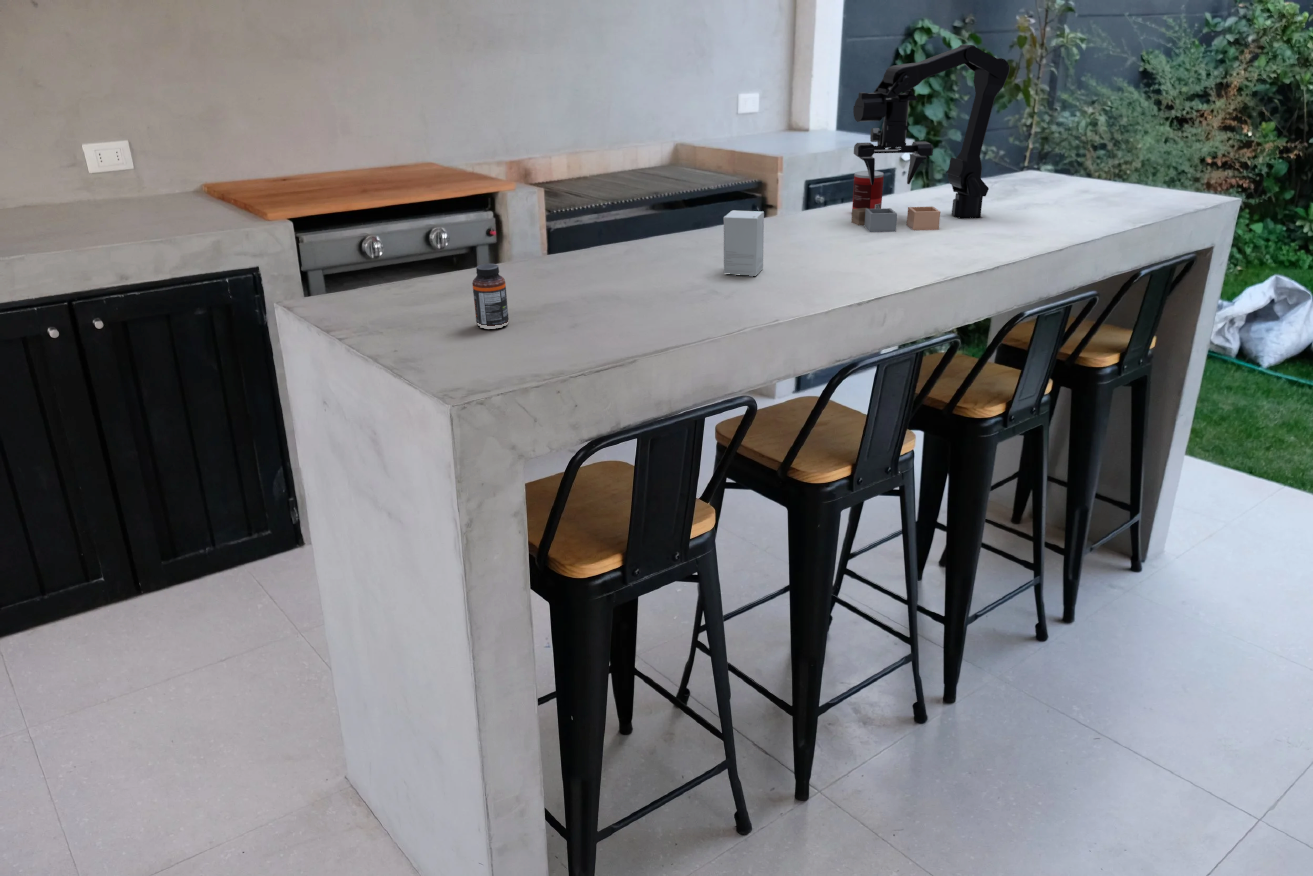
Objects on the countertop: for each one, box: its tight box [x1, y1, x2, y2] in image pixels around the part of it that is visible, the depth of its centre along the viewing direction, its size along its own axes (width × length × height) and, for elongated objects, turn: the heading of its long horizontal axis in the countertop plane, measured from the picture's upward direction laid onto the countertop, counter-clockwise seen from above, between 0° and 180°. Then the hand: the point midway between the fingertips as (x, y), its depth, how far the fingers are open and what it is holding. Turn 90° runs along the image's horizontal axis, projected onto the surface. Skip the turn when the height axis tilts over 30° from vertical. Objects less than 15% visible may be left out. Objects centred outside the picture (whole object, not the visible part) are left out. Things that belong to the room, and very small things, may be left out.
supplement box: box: [722, 209, 765, 277], centre depth 212 cm, size 7×7×13 cm
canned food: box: [851, 170, 885, 210], centre depth 264 cm, size 8×8×11 cm
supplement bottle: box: [472, 263, 510, 326], centre depth 180 cm, size 6×6×11 cm
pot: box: [906, 206, 941, 231], centre depth 248 cm, size 6×6×5 cm
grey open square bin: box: [863, 207, 898, 233], centre depth 247 cm, size 6×6×5 cm
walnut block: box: [850, 208, 868, 226], centre depth 253 cm, size 4×4×4 cm
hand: (890, 184), depth 251 cm, fingers open, 9 cm apart
